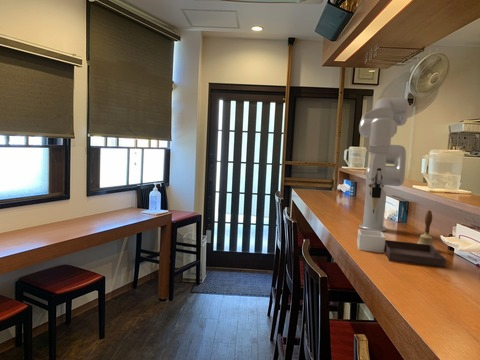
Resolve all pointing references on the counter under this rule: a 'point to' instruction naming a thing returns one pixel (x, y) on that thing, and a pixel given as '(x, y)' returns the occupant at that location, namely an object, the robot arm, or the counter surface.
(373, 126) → the robot arm
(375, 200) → the ice cream cone
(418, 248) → the tray
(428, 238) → the hand bell
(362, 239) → the frame
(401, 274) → the counter surface
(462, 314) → the counter surface
